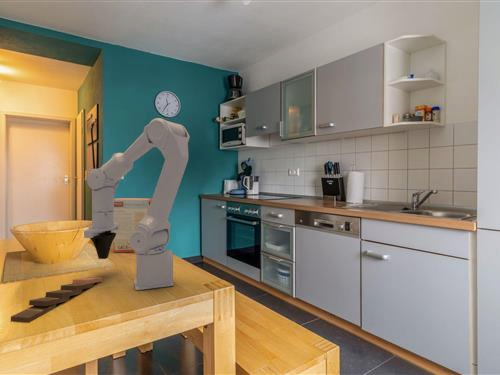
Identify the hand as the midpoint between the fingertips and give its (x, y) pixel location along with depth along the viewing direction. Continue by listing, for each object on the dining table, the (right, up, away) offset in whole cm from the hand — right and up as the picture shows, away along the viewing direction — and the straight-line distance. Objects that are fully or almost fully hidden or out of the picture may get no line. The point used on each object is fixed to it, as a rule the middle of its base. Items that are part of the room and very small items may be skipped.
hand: (103, 258), depth 88 cm
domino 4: (-1, -5, -8) cm, 9 cm away
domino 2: (-2, -5, -17) cm, 17 cm away
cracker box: (-3, -5, +32) cm, 33 cm away
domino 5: (0, -5, -3) cm, 6 cm away
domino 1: (-2, -6, -21) cm, 22 cm away
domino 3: (-1, -5, -12) cm, 13 cm away
